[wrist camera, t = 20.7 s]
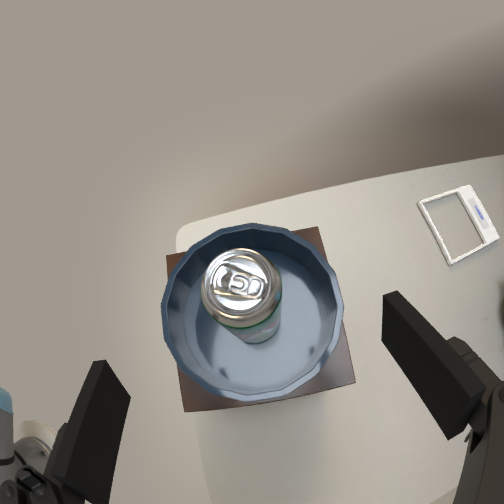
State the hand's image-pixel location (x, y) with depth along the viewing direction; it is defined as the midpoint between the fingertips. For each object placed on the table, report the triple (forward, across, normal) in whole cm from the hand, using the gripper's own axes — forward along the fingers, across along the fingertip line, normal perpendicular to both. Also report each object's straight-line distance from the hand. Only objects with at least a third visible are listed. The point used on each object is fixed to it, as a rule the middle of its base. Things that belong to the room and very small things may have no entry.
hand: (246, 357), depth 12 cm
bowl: (+14, 0, -8) cm, 16 cm away
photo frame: (+36, +47, -15) cm, 61 cm away
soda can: (+14, 0, -8) cm, 16 cm away
